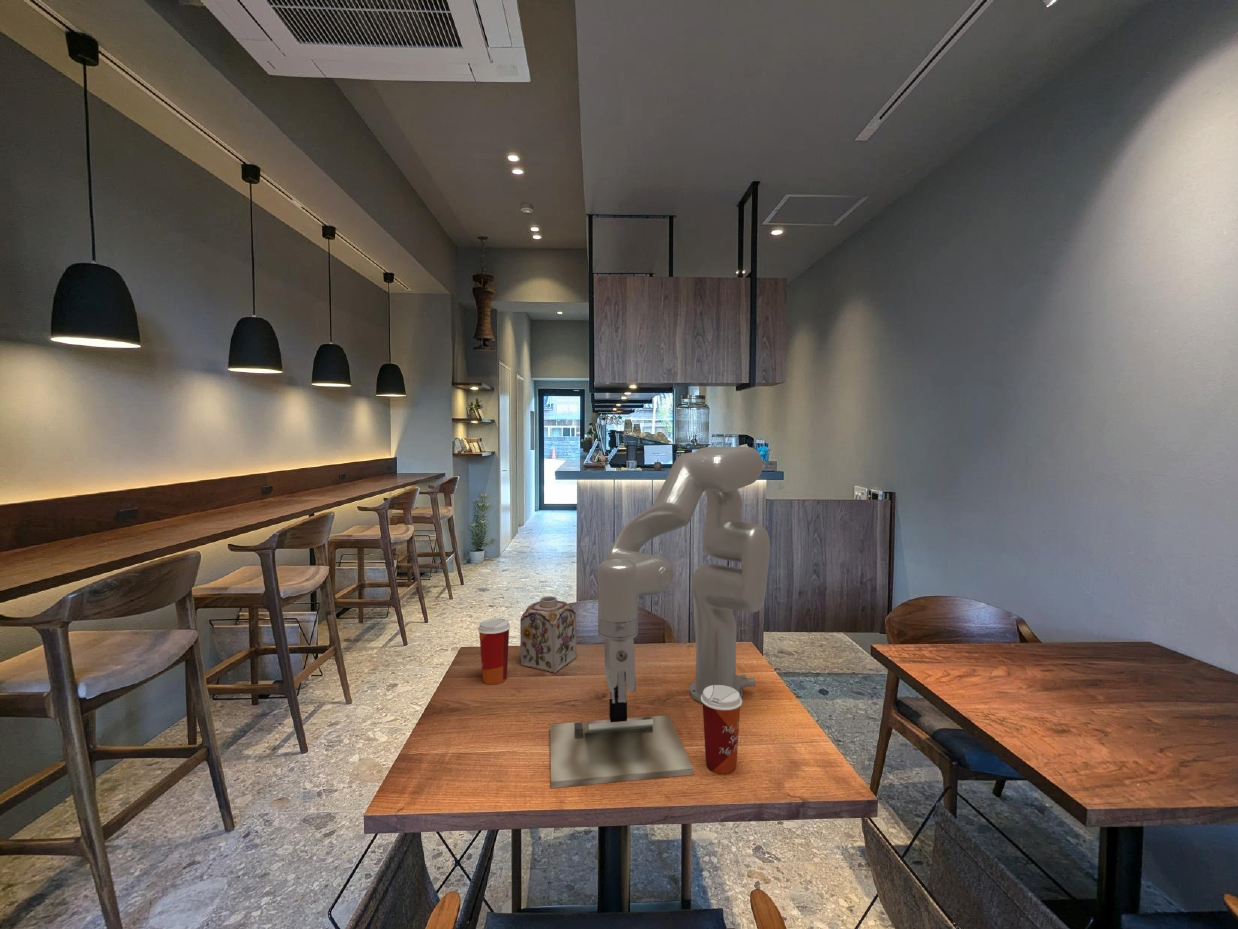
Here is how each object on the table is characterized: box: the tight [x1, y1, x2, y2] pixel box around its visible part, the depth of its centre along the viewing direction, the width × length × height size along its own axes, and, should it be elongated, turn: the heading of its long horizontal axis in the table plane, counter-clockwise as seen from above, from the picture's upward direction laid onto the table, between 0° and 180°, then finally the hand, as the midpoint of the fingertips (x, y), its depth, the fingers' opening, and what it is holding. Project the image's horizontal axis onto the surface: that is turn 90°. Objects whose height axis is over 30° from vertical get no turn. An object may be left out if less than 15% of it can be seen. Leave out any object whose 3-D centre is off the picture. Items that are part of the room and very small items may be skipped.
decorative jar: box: [519, 595, 578, 674], centre depth 145 cm, size 12×12×18 cm
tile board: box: [549, 714, 694, 789], centre depth 103 cm, size 26×19×3 cm
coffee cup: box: [477, 617, 511, 686], centre depth 134 cm, size 8×8×15 cm
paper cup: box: [701, 685, 743, 775], centre depth 98 cm, size 8×8×14 cm
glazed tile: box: [584, 719, 653, 734], centre depth 102 cm, size 12×1×14 cm
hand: (618, 720), depth 99 cm, fingers closed
